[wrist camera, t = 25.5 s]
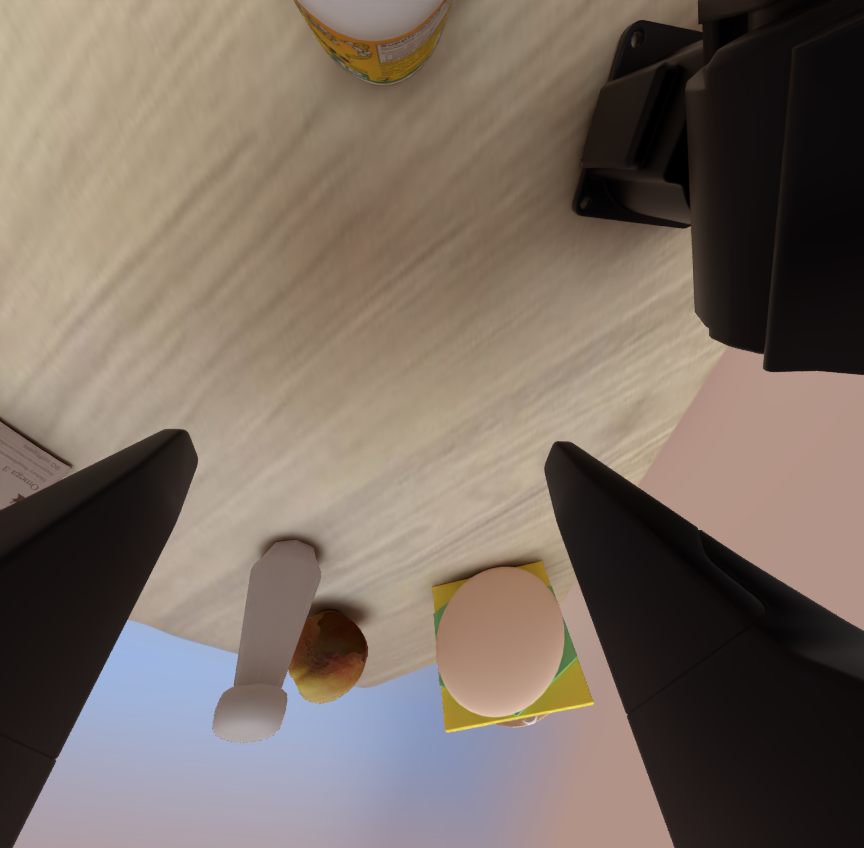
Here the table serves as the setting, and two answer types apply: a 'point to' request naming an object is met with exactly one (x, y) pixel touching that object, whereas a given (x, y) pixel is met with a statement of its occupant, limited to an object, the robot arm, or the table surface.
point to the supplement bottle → (377, 34)
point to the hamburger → (504, 650)
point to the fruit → (328, 657)
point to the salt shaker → (268, 642)
